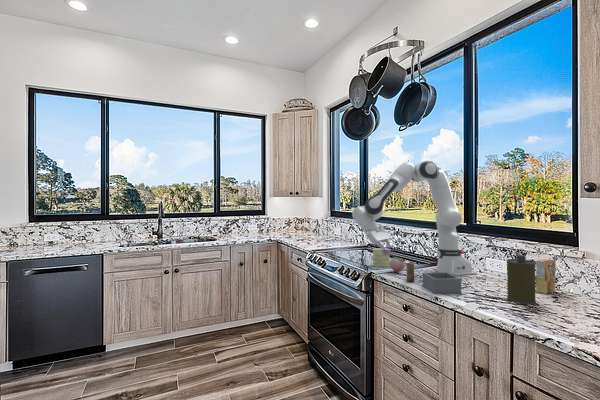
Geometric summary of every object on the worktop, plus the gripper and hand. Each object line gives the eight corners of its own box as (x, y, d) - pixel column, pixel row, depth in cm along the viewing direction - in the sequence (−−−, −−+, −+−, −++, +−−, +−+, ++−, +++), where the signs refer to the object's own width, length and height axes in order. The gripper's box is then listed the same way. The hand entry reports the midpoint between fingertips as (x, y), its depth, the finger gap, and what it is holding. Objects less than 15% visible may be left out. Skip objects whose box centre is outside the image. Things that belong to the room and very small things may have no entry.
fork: (425, 269, 200) (425, 266, 199) (404, 263, 218) (404, 260, 218) (428, 269, 201) (428, 266, 201) (407, 262, 219) (407, 260, 219)
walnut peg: (412, 280, 171) (412, 262, 171) (415, 282, 167) (415, 264, 167) (405, 280, 170) (405, 262, 170) (408, 282, 166) (408, 264, 166)
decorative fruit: (386, 272, 190) (386, 256, 190) (393, 270, 196) (393, 254, 196) (400, 274, 183) (400, 258, 183) (407, 272, 189) (407, 256, 189)
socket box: (447, 285, 160) (447, 272, 160) (461, 293, 147) (461, 278, 147) (422, 286, 159) (422, 272, 159) (434, 293, 146) (434, 279, 146)
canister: (537, 305, 129) (537, 258, 129) (507, 301, 134) (507, 256, 134) (534, 298, 138) (534, 254, 138) (506, 295, 143) (506, 252, 143)
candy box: (545, 289, 152) (545, 258, 152) (556, 291, 148) (555, 259, 148) (535, 291, 148) (535, 260, 148) (546, 294, 144) (545, 261, 144)
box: (388, 265, 211) (388, 248, 211) (389, 267, 205) (389, 249, 205) (372, 265, 212) (372, 248, 212) (374, 266, 206) (373, 249, 206)
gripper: (368, 227, 173) (384, 246, 167) (382, 224, 189) (398, 242, 183) (360, 234, 175) (376, 253, 169) (375, 231, 192) (390, 248, 186)
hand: (388, 247), depth 176 cm, fingers open, 8 cm apart
